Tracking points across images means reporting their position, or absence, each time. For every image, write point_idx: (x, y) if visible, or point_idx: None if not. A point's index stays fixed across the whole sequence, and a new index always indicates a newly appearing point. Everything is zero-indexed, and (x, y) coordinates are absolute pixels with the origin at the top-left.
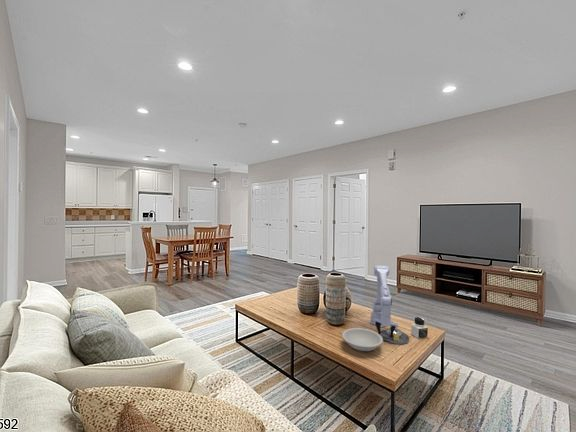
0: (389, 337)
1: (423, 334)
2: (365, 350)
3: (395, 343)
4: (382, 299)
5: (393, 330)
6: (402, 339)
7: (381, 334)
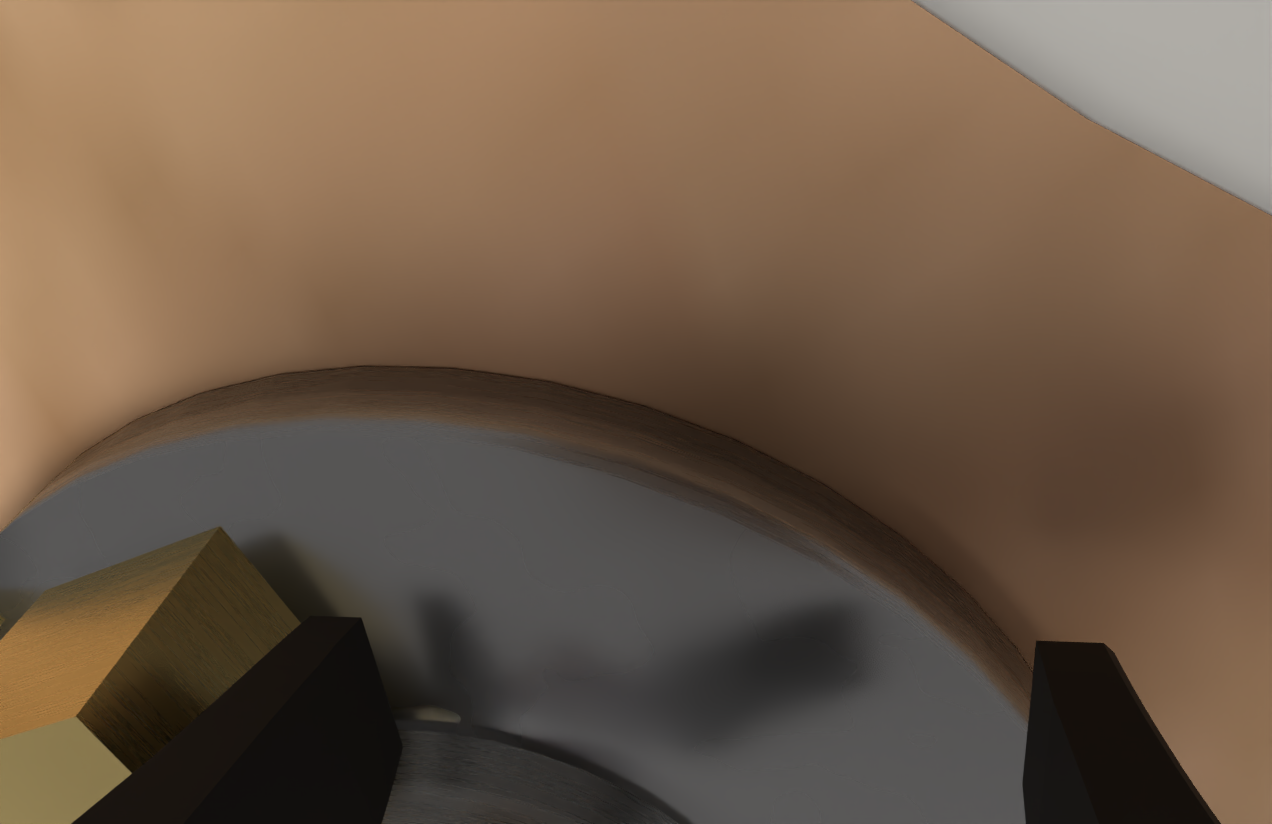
0: (554, 720)
1: None
2: None
3: (168, 423)
4: None
5: None
6: None
7: (986, 811)
